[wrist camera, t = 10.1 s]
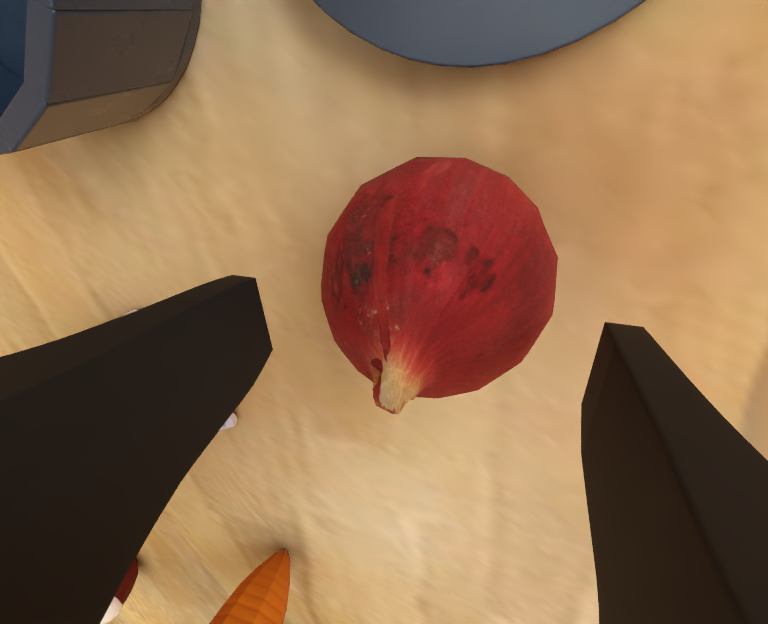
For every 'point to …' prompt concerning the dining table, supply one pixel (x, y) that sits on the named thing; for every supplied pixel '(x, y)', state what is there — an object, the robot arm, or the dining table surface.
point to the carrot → (260, 595)
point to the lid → (473, 27)
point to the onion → (437, 279)
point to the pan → (87, 64)
